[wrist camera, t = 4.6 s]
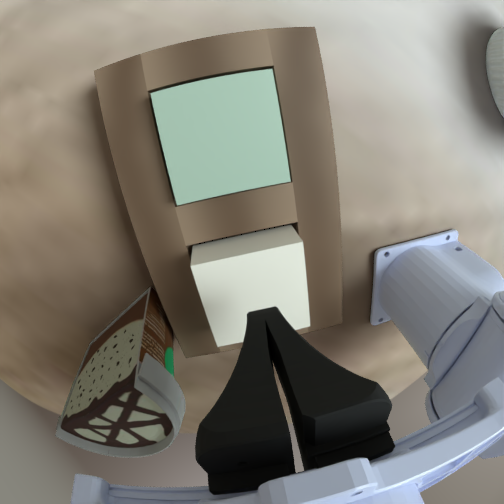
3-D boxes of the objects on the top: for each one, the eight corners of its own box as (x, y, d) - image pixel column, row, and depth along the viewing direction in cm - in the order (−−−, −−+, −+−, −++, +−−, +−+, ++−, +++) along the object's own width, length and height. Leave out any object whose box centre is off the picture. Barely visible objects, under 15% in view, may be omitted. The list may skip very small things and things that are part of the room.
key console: (299, 38, 15) (314, 27, 12) (329, 300, 24) (342, 323, 21) (111, 76, 14) (93, 70, 12) (187, 332, 23) (185, 357, 21)
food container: (132, 383, 26) (119, 469, 17) (82, 349, 23) (52, 437, 14) (220, 322, 23) (230, 429, 14) (163, 274, 21) (141, 383, 12)
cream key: (291, 224, 18) (303, 241, 15) (300, 303, 20) (310, 326, 18) (192, 245, 17) (190, 266, 15) (216, 322, 20) (217, 346, 18)
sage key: (263, 75, 14) (272, 68, 12) (280, 172, 17) (290, 181, 15) (159, 96, 14) (150, 93, 12) (181, 193, 17) (177, 205, 15)
